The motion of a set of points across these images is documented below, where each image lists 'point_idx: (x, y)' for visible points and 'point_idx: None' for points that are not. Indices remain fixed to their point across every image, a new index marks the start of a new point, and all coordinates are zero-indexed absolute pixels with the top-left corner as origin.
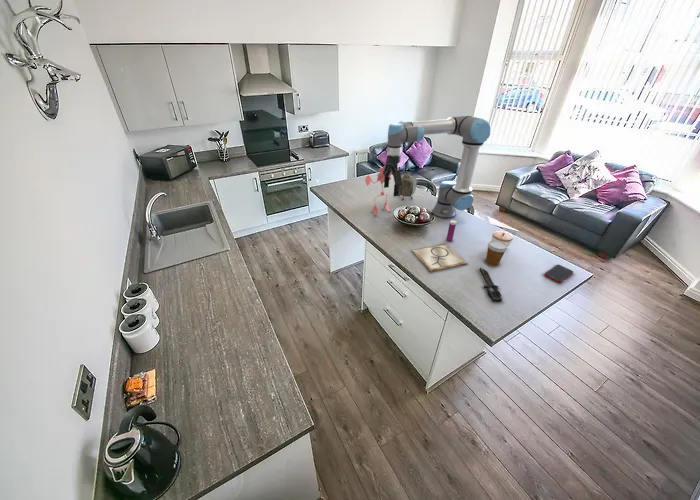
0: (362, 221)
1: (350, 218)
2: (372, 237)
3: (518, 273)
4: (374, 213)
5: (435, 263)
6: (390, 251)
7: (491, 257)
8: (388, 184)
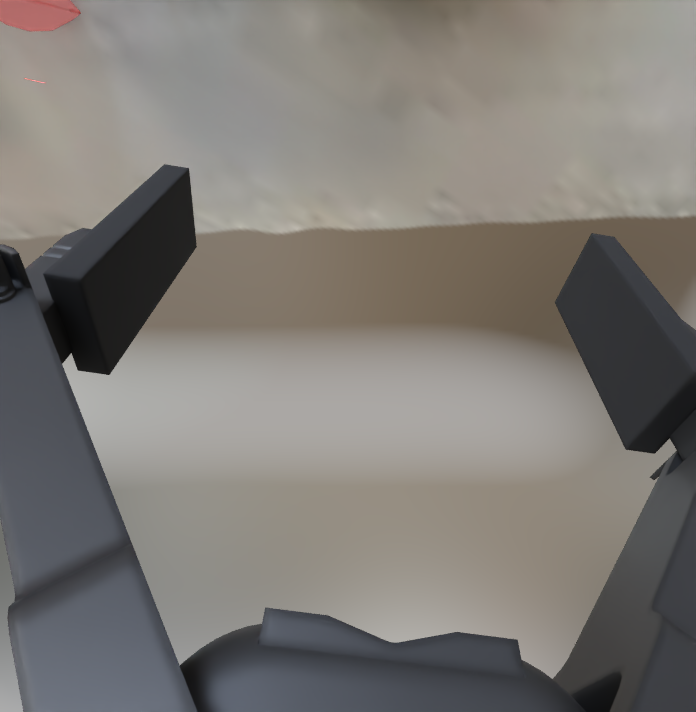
0: None
1: None
2: (387, 214)
3: None
4: (60, 18)
5: None
6: (586, 200)
7: None
8: (168, 198)
